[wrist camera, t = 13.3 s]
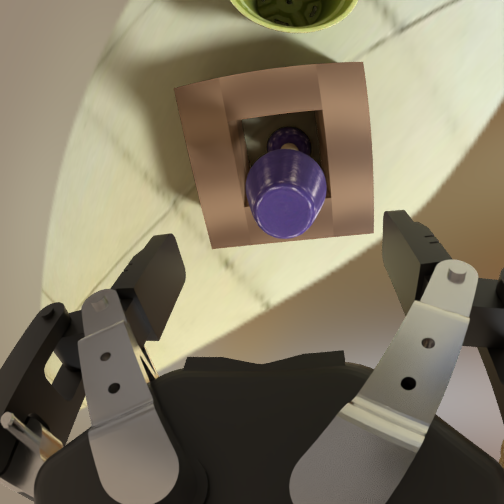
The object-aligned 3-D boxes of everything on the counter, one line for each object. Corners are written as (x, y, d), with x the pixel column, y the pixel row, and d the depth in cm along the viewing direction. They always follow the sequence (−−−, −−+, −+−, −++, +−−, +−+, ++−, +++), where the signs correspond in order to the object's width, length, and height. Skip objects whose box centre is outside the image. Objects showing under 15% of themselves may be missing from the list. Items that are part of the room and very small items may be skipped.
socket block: (198, 86, 26) (173, 88, 20) (344, 66, 24) (363, 61, 18) (225, 215, 33) (212, 248, 27) (357, 202, 31) (373, 233, 25)
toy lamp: (259, 165, 30) (234, 252, 16) (263, 119, 27) (238, 161, 13) (308, 170, 29) (329, 262, 15) (313, 125, 27) (346, 173, 13)
